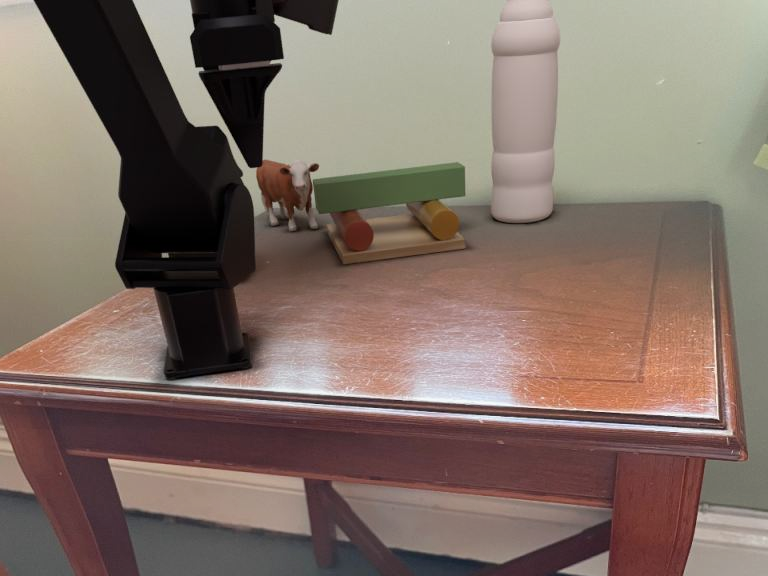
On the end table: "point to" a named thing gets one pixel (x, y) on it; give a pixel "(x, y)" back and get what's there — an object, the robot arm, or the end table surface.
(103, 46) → the robot arm
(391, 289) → the end table surface
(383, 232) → the rod stand
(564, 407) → the end table surface
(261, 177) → the bull figurine
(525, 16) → the water bottle
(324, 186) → the green bar
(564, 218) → the end table surface
